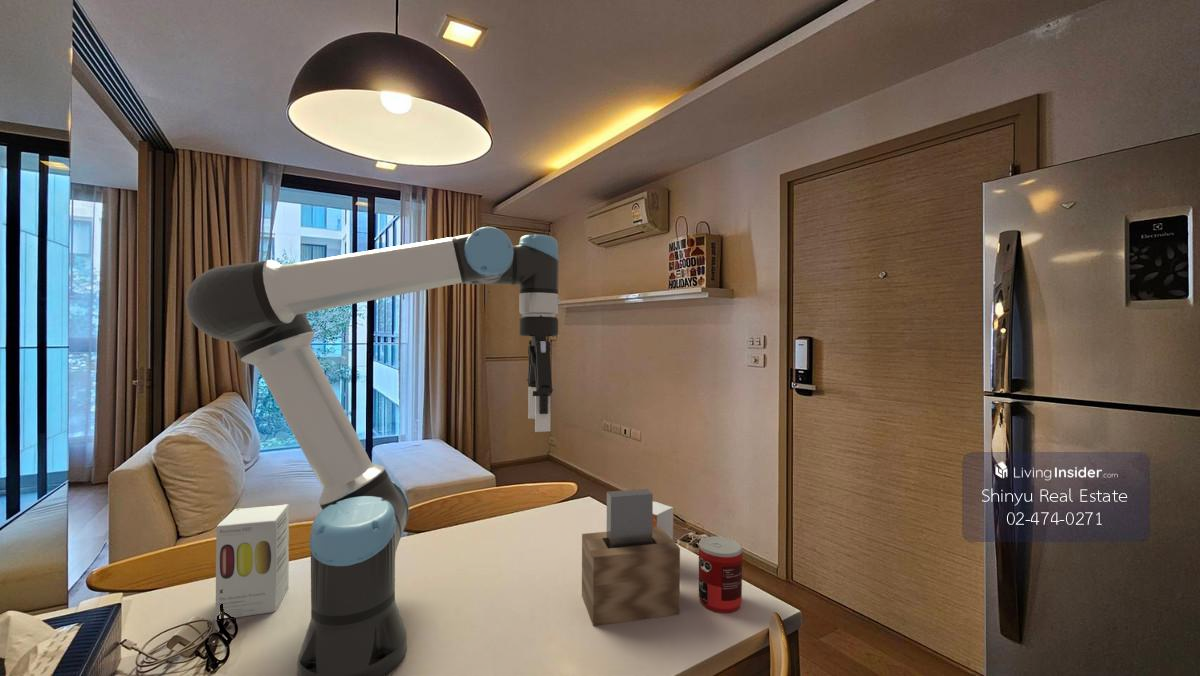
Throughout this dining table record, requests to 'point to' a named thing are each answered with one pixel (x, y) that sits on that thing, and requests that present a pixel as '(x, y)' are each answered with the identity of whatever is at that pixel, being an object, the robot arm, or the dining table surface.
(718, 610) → the canned food
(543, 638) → the dining table surface
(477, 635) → the dining table surface
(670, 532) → the small box
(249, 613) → the supplement box
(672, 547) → the wooden planter box
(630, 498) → the grey slab
